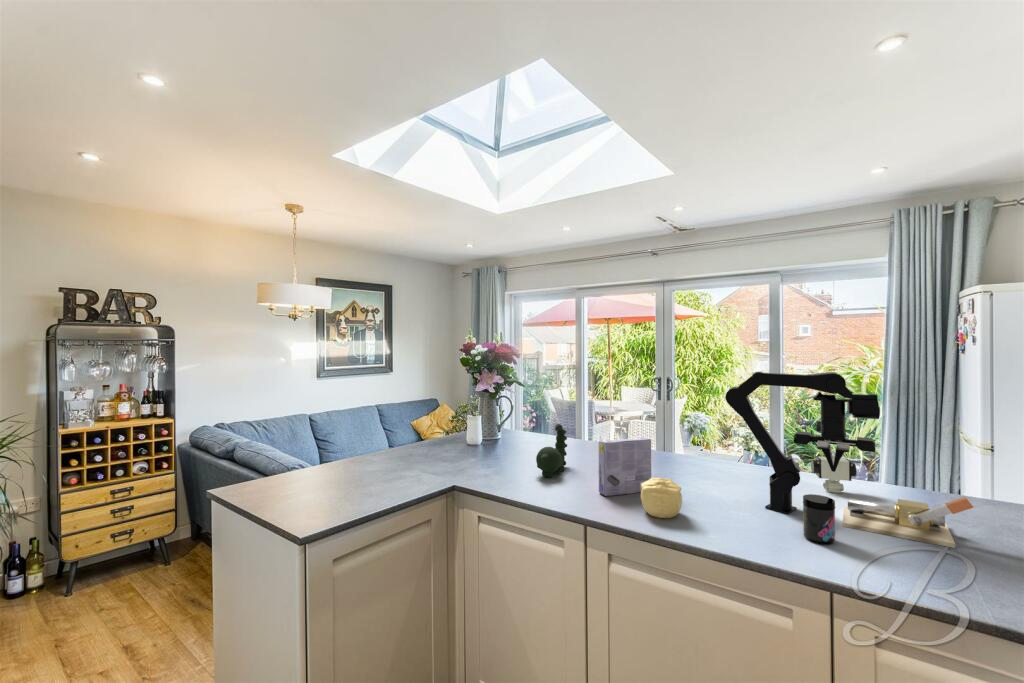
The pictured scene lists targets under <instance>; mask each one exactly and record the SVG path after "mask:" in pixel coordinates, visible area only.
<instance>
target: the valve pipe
mask: <svg viewBox="0 0 1024 683" xmlns="http://www.w3.org/2000/svg"><path fill="white" fill-rule="evenodd" d="M847 507H848V510H850V516H853V517H859V518H864V513H868V514H874V515H880V516H886V517H891V518H895V521H898V522H899V525H900V526H906V527H911V528H917V529H922V530H928V531H936V532H940V527H939V526H943V527H945V524H946V515H945V516H942V517H939V518H936V519H932V520H929V521H926V522H923V523H922V524H921V525H920V526H912V525H911V524H910V523H909V522H908V519H907V516H908V515H909V514H912V513H914V514H918V513H921V512H924V511H927V510H930V509H931V508H930V507H929V504H928V503H927V502H921V501H914V500H909V499H902V498H897V503H894V504H893V505H891V504H886V503H880V502H873V501H868V500H861V499H854V498H847Z"/></svg>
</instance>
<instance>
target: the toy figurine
mask: <svg viewBox="0 0 1024 683" xmlns="http://www.w3.org/2000/svg"><path fill="white" fill-rule="evenodd" d="M554 431H555V432H556V435H555V440H556V442H555V445H554V447H552V446H545V447H543V448H541V449H539V451H538V452H537V454H536V456H535V461H536V467H537V469H540V470H541V471H542V472H541V475H542V476H543V477H544V478H546V479H551V478H552V477H553V475H554V472H556V473H557V474H560V473H562V472H563V471H564V470H565V468H566V467H565V466H566V465H567V462H566V460H565V457H566V456H567V452H566V448H567V447H568V444H567V443H566V442H565V441H567V439H568V437H567V436H566V433H567V430H565V429H564V428H563V425H562V424H561V423H556V424H555V426H554Z"/></svg>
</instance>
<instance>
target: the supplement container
mask: <svg viewBox="0 0 1024 683" xmlns="http://www.w3.org/2000/svg"><path fill="white" fill-rule="evenodd" d="M802 504H803V505H802V508H803V509H802V511H803V513H802V515H803V516H802V517H803V518H802V519H803V524H802V525H803V528H802V529H803V536H804V538H805V539H806V540H807V541H809V542H811V543H814V544H817V545H821V546H824V545H825V546H831V545H833V544H834V543H835V542H836V500H835V499H833V498H831V497H829V496H826V495H825V496H824V495H820V494H811V493H809V494H803V496H802Z"/></svg>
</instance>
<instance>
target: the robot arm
mask: <svg viewBox="0 0 1024 683" xmlns="http://www.w3.org/2000/svg"><path fill="white" fill-rule="evenodd" d="M760 386H772V387H773V386H775V387H787V388H788V387H789V388H805V389H810V390H815V391H818V392H817V393H816V394H815V395H813V396H812V400H814V401H819V402H820V420H816V426H815V428H816V429H815V430H816V433H820V435H818V436H817V435H812V432H810V431H809V432H807V431H799V430H798V431H796V432H795V433H794V435H793V443H794V444H796V445H797V444H798V445H808V444H810V443H816V444H817V447H816V449H817V450H821V451H822V454H823V455H824V457H826V459H827V461H828V463H829V466H830V468H831V471H832V472H833V471H834V472H835V471H836V468H837V466H838V463H839V461H840V459H841V458H843V456H844V454H845V453H849V452H850V448H851V447H854V448H855V447H856V448H857V449H858V450H859V451H860V452H861V451H862V452H868V453H876V440H875V439H874V438H872V437H861V436H857V438H856V439H850V438H847V428H846V411H847V414H848V415H851V416H852V418H853V419H865V420H867V419H868V420H880V416H881V407H880V404H879V399H878V394H875V393H869V394H861V393H853V391H852V390H851V389H849V388H848V387H847V381H846V379H845V378H844V376H842V375H841V374H839V373H837V372H835V371H834V372H833V371H829V372H826V371H825V372H820V373H819V372H816V373H811V374H810V373H809V374H798V373H796V374H795V373H779V372H778V373H777V372H776V373H775V372H762V371H755V372H753V373H752V375H751V376H750V377H749V378H747V379H746V380H744V381H743V382H742V383H741V384H739V385H738V386H733V387H730V388H729V389H728V390H727V391H726V393H725V396H724V398H725V401H726V403H727V404H728V405H729V406H730V407H731V408H732V409H733V411H735V413H737V415H739V416H740V417H741V418H742V419H743V421H744V422H745V424H746V425H747V427H748V428H749V429H750V431H751V433H752V435H754V437H755V439H756V440H757V442H758V443H759V445H760V446H761V448H762V450H763V451H764V453H765V454H766V455H767V457H768V459H769V460H770V464H771V466H772V468H773V471H774V473H772V474H771V475H769V504H767V505H764V506H765V507H764V508H765V509H768V510H772V511H774V512H775V511H776V512H779V513H783V514H787V515H788V514H791V513H793V512H794V511H796V510H798V508H797V507H796V506H793V488H794V487H796V486H798V485H799V483H800V482H801V475H800V472H801V469H800V466H799V464H797V463H796V462H795V460H794V458H793V456H792V454H789V455H786V454H784V452H783V451H782V450H781V449H780V448H779V446H778V445H777V443H776V442H775V440H774V439H773V437H772V436H771V434H770V432H768V430H767V429H766V428H767V427H765V425H764V424H763V422H762V420H761V419H760V417H759V416H758V415H757V413H756V411H755V410H754V408H753V405H752V402H751V399H750V398H749V395H751V394H752V393H754V392H755V390H757V389H758V388H759V387H760ZM822 392H823V393H822ZM824 393H827V394H824ZM836 395H840V396H841V397H843V398H841V397H840V398H837V397H836ZM846 409H847V410H846ZM831 445H835V446H836V447H835V453H834V454H835V455H834V456H835V459H834V465H833V459H832V455H833V454H832V447H831Z"/></svg>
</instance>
